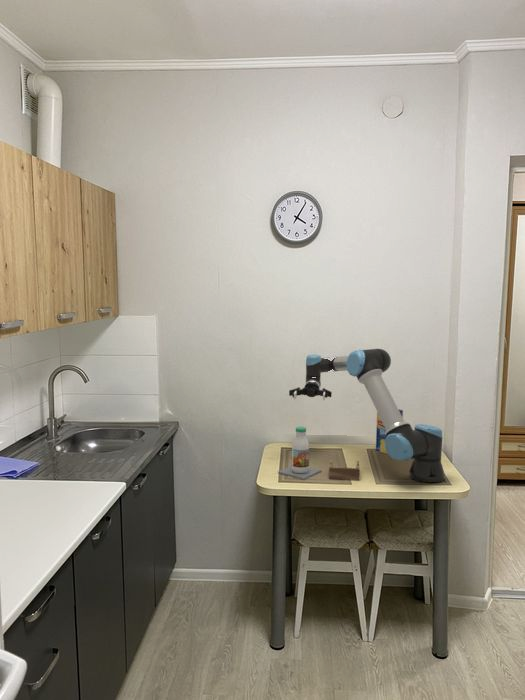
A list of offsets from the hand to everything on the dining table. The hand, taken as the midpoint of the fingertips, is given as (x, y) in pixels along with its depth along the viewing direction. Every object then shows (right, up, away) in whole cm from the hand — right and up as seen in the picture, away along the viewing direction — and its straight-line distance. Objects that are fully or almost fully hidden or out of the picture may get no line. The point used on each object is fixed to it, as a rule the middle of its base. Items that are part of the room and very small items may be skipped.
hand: (309, 396), depth 270 cm
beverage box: (+42, -30, +23) cm, 57 cm away
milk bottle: (-5, -33, -10) cm, 34 cm away
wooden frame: (+15, -34, -12) cm, 39 cm away
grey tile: (-5, -33, -9) cm, 35 cm away
